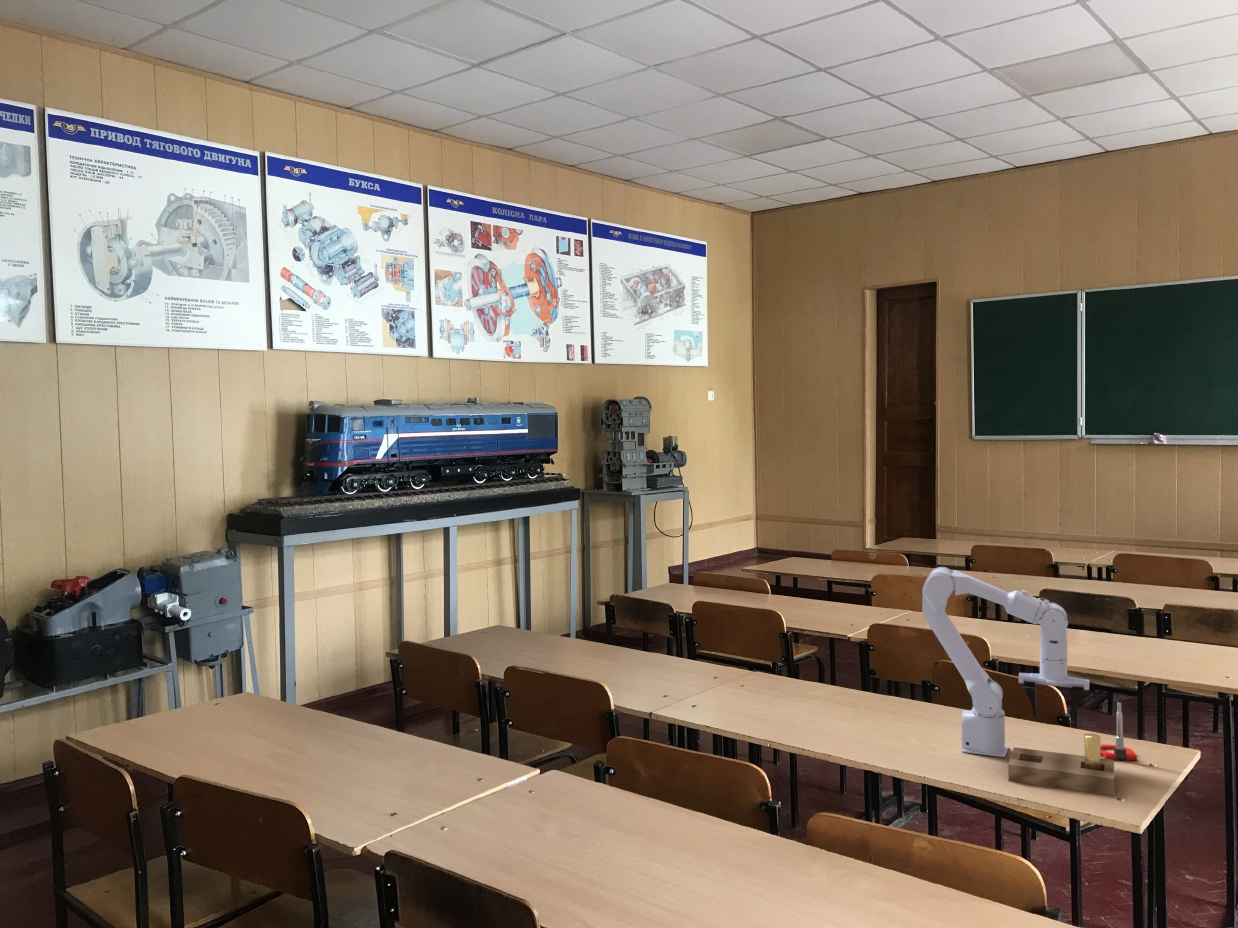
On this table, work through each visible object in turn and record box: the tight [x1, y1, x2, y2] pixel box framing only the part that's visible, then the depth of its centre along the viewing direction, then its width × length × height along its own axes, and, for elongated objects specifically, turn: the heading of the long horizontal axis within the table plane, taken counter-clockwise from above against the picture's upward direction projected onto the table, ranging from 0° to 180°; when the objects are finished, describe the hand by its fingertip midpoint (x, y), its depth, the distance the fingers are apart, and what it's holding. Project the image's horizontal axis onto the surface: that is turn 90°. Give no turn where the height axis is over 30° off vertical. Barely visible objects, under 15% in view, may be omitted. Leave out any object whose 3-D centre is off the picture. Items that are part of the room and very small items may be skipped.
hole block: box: [1007, 746, 1115, 796], centre depth 201 cm, size 20×12×4 cm, turn 62°
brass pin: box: [1083, 733, 1101, 771], centre depth 198 cm, size 3×3×10 cm
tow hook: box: [1100, 702, 1138, 761], centre depth 215 cm, size 8×13×9 cm
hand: (1053, 716), depth 213 cm, fingers open, 7 cm apart
